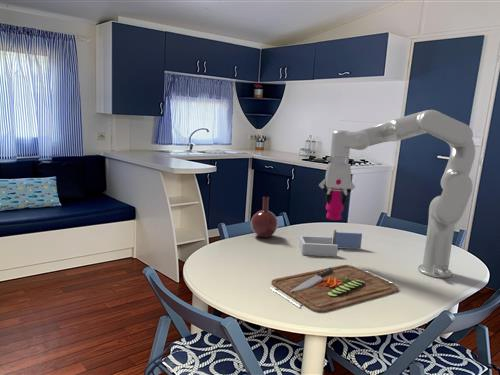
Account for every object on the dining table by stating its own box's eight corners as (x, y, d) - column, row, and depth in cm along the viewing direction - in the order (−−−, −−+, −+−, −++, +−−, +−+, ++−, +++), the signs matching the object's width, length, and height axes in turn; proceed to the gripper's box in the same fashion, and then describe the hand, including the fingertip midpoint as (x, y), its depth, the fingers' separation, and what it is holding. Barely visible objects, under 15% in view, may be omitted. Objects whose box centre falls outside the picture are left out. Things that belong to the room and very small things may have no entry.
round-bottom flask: (250, 232, 212) (252, 193, 209) (276, 233, 212) (279, 195, 208) (249, 239, 199) (251, 198, 196) (277, 241, 199) (280, 200, 195)
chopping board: (310, 317, 127) (311, 308, 127) (261, 284, 149) (262, 276, 149) (406, 290, 151) (407, 282, 151) (351, 266, 173) (352, 259, 173)
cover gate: (359, 247, 196) (361, 231, 194) (360, 248, 195) (362, 231, 193) (331, 246, 195) (333, 229, 194) (332, 247, 194) (334, 230, 193)
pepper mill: (344, 220, 173) (348, 173, 169) (326, 219, 173) (330, 172, 169) (340, 216, 180) (344, 170, 176) (323, 215, 180) (327, 169, 176)
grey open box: (336, 256, 182) (337, 245, 182) (302, 254, 182) (303, 243, 181) (330, 247, 195) (331, 237, 194) (298, 245, 194) (299, 235, 193)
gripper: (320, 160, 168) (316, 204, 171) (362, 162, 169) (358, 206, 172) (317, 158, 175) (313, 200, 179) (357, 160, 176) (353, 202, 179)
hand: (335, 203), depth 175 cm, fingers closed on pepper mill, 5 cm apart
